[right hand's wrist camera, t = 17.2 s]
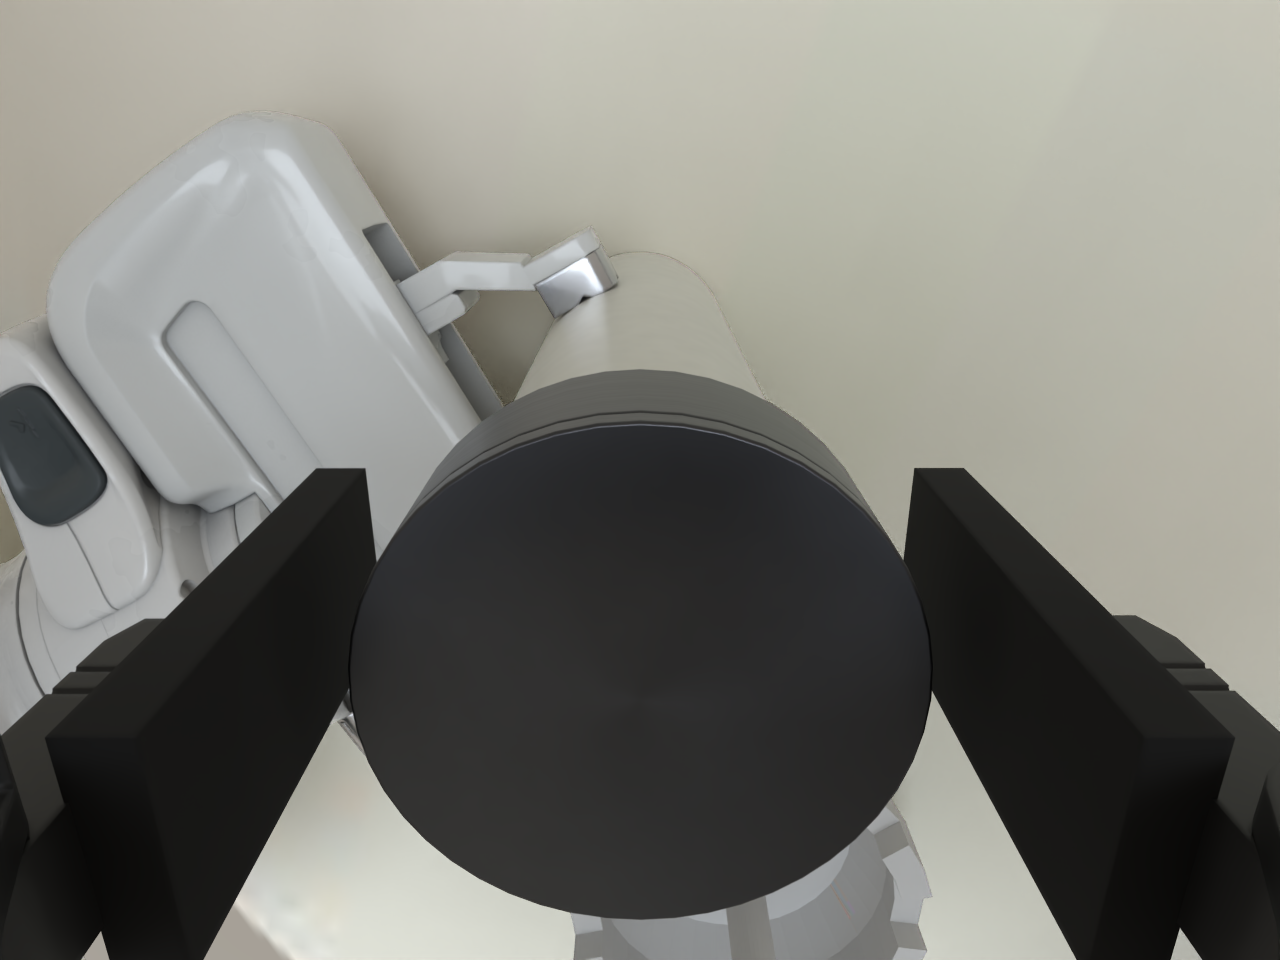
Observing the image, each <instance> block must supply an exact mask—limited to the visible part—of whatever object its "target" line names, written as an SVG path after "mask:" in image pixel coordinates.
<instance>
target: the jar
mask: <svg viewBox="0 0 1280 960" xmlns="http://www.w3.org/2000/svg"><path fill="white" fill-rule="evenodd" d="M609 259H610V261H611V263H612V265H613V267H614V269H615V271H616V272H617V274H618V276H619V278H618V283H617V284H615V285H614V286H613V287H611V288H610V289H608V290H607V291H605V292H603V293H601V294H599V295H596V296H594V297H585V296H583V297H582V299H581V301H580V303H579V305H577V306H576V307H575V308H573V309H572V310H571V311H569V312H567V313H565V314H563V315H561V316H559V317H558V318H556V319H554V321H553V323H552V325H551V327H550V329H549V331H548V333H547V335H546V337H545V339H544V341H543V343H542V345H541V347H540V349H539V351H538V353H537V355H536V357H535V359H534V361H533V363H532V365H531V367H530V369H529V371H528V373H527V375H526V377H525V379H524V381H523V383H522V385H521V387H520V389H519V391H518V393H517V395H516V398H515V400H517V399H519V398H521V397H523V396H525V395H527V394H529V393H531V392H534V391H536V390H538V389H540V388H543V387H546V386H549V385H552V384H555V383H558V382H561V381H564V380H567V379H570V378H574V377H580V376H585V375H590V374H595V373H600V372H605V371H620V370H635V369H645V370H661V371H676V372H681V373H686V374H691V375H696V376H701V377H707V378H711V379H714V380H717V381H720V382H723V383H726V384H729V385H732V386H735V387H738V388H741V389H743V390H745V391H747V392H749V393H751V394H753V395H755V396H758V397H760V398H762V399H764V400H766V399H765V397H764V395H763V393H762V391H761V389H760V387H759V385H758V383H757V381H756V379H755V377H754V375H753V373H752V371H751V369H750V367H749V365H748V363H747V361H746V359H745V357H744V355H743V353H742V351H741V349H740V347H739V345H738V343H737V341H736V339H735V337H734V335H733V333H732V331H731V329H730V327H729V325H728V323H727V321H726V319H725V317H724V315H723V313H722V311H721V309H720V307H719V305H718V303H717V301H716V299H715V297H714V295H713V293H712V292H711V290H710V289H709V287H708V286H707V285H706V283H705V282H704V281H703V280H702V279H701V278H700V277H699V275H698V274H696V273H695V272H694V271H693V270H692V269H690V268H689V267H688V266H686V265H684V264H683V263H681V262H679V261H677V260H675V259H673V258H670V257H668V256H664V255H661V254H657V253H650V252H630V253H623V254H619V255H615V256H612V257H610V258H609ZM515 400H514V401H515Z"/></svg>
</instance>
